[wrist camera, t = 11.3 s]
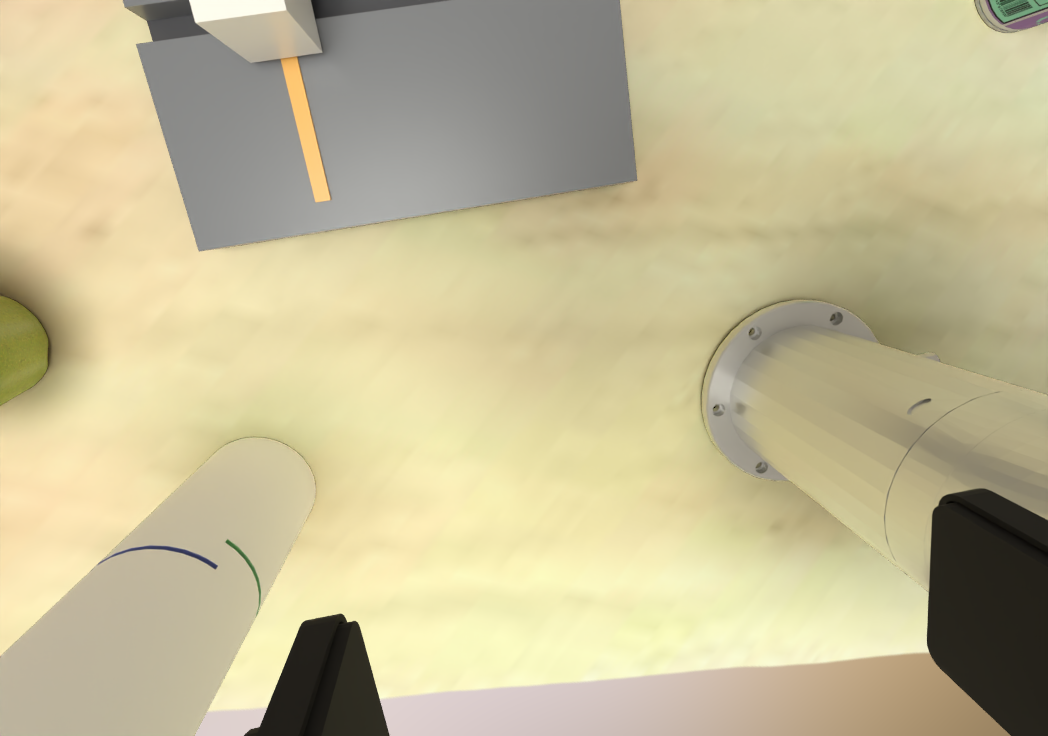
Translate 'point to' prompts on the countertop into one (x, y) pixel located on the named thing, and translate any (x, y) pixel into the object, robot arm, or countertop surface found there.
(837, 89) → the countertop surface
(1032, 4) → the spray can
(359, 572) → the countertop surface
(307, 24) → the cap
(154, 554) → the cylindrical container
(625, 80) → the fader console
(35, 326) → the plant pot
